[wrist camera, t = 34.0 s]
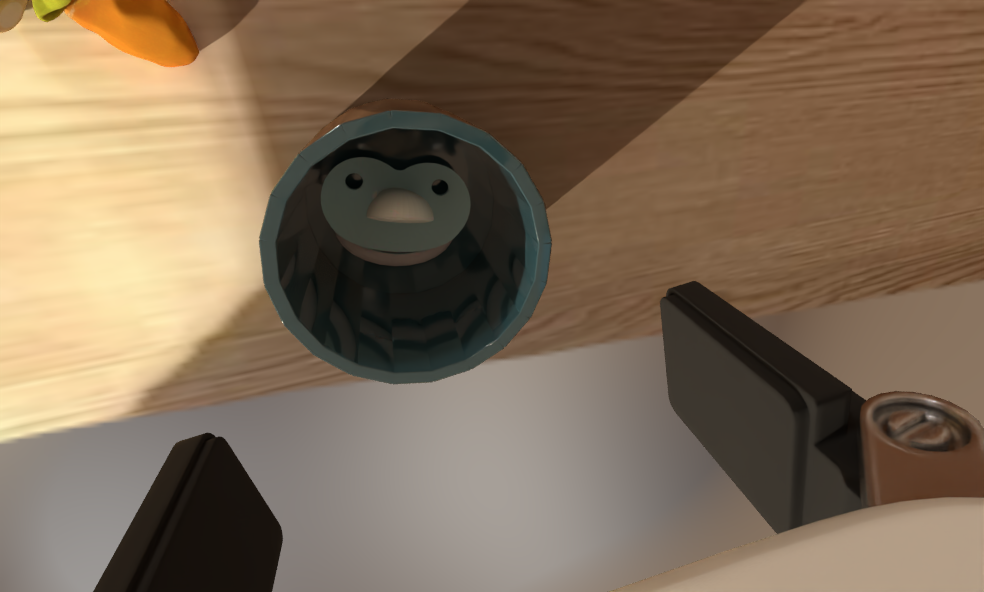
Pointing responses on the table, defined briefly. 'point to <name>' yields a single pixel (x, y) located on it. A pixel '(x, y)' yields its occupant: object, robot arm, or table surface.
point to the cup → (415, 288)
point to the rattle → (119, 25)
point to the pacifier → (394, 210)
